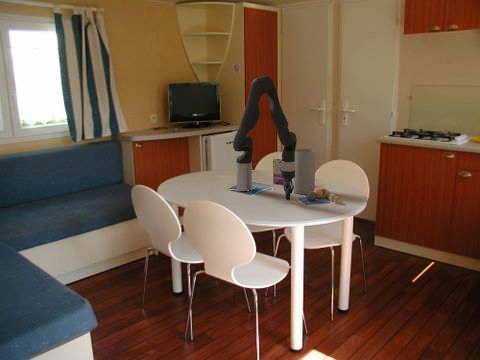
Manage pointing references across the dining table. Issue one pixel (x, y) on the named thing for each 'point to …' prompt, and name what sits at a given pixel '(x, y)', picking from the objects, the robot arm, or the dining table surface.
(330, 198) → the stopper
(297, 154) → the cylinder vase
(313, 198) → the grey ball
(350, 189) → the dining table surface
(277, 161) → the candy bar box
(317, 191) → the object ball
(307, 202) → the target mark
